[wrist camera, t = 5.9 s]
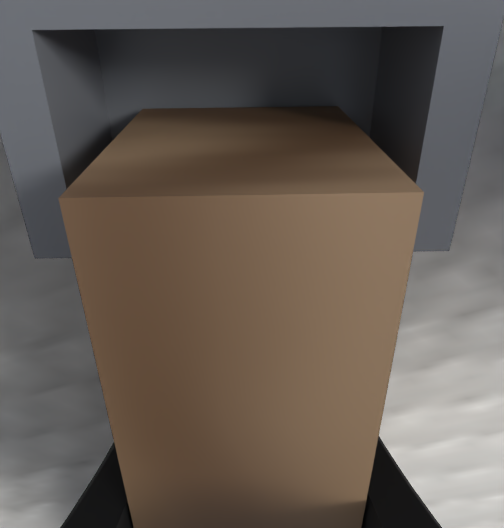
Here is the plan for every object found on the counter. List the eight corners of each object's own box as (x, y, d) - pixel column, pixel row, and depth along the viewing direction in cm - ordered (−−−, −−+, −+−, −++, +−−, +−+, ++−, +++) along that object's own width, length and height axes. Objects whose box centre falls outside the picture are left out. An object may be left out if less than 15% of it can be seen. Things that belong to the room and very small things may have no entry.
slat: (338, 106, 9) (424, 192, 5) (304, 515, 16) (328, 701, 12) (142, 108, 9) (58, 197, 5) (191, 518, 16) (174, 707, 12)
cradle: (432, -40, 9) (538, -65, 6) (343, 528, 18) (365, 636, 15) (40, -37, 9) (-70, -60, 6) (153, 534, 18) (135, 644, 15)
